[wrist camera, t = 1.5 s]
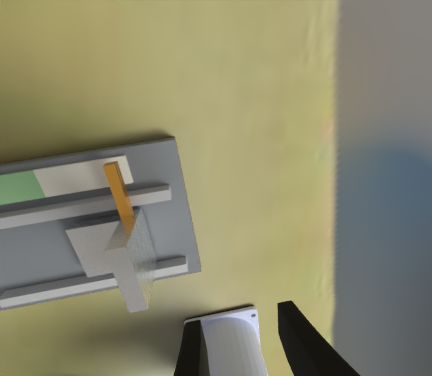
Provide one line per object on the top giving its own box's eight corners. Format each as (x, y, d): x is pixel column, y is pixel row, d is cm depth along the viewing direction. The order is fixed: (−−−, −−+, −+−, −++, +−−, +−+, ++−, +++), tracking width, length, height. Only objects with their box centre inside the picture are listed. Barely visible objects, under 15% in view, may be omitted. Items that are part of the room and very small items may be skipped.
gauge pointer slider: (156, 259, 19) (148, 309, 15) (93, 271, 19) (65, 326, 14) (125, 155, 15) (102, 180, 11) (47, 168, 15) (-11, 199, 11)
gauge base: (200, 262, 22) (205, 320, 16) (-32, 307, 20) (-113, 386, 15) (174, 136, 17) (170, 158, 11) (-132, 184, 15) (-308, 234, 10)
